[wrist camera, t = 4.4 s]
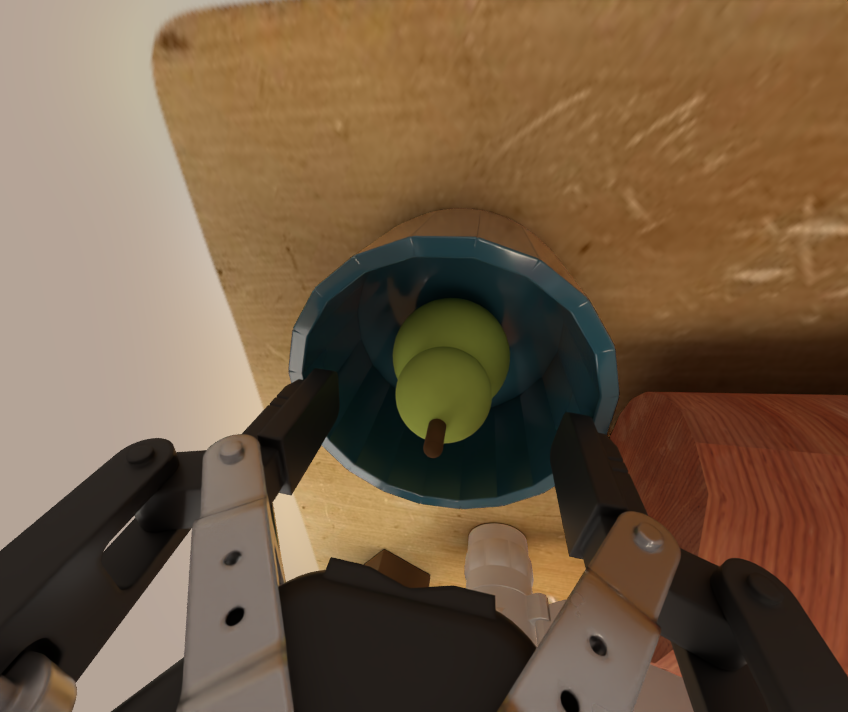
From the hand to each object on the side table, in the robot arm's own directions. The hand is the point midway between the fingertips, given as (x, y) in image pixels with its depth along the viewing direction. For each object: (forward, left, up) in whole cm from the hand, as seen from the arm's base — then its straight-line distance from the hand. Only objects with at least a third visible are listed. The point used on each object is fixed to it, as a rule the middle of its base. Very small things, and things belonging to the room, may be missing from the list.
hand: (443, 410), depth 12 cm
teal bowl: (0, 0, -7) cm, 7 cm away
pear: (0, 0, -7) cm, 7 cm away
